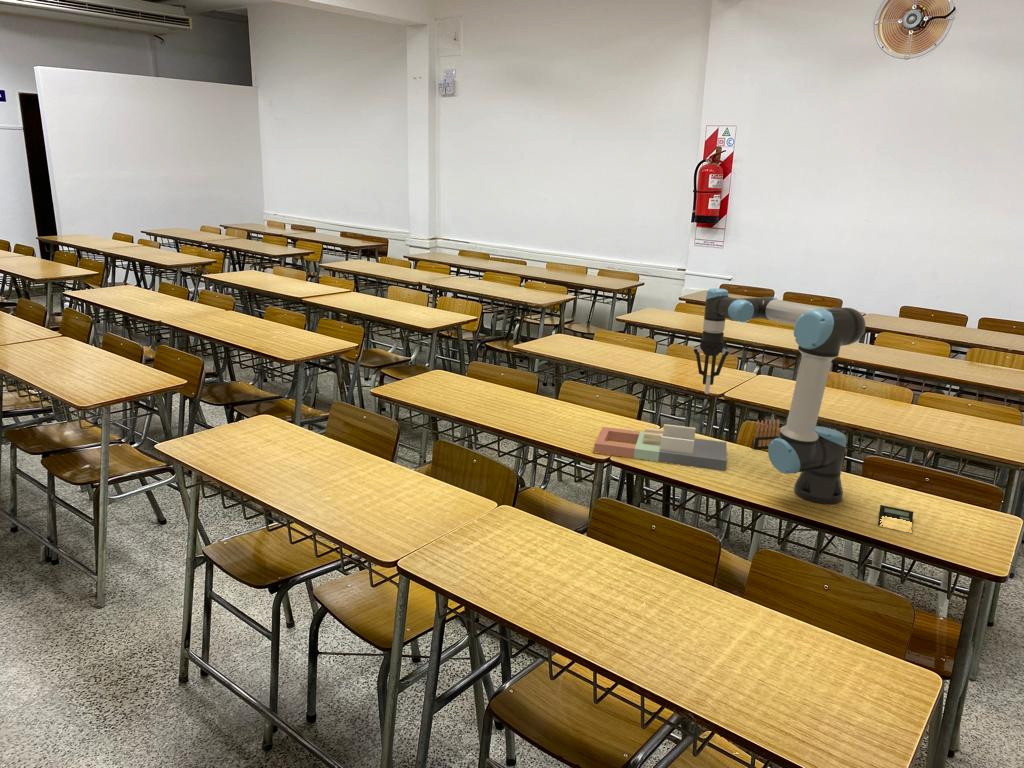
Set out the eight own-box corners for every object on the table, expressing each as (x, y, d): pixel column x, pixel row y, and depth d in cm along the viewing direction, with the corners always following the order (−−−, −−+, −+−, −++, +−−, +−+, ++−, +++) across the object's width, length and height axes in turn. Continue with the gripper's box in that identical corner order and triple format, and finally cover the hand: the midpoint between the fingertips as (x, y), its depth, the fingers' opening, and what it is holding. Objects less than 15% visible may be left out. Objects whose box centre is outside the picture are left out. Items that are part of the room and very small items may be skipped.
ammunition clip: (775, 446, 285) (779, 418, 281) (777, 448, 283) (782, 419, 279) (750, 448, 282) (754, 419, 279) (753, 449, 280) (757, 420, 277)
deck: (725, 471, 258) (728, 447, 256) (593, 453, 270) (595, 430, 268) (725, 451, 277) (727, 429, 274) (602, 436, 289) (603, 414, 286)
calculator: (877, 527, 221) (879, 518, 220) (878, 512, 231) (880, 504, 230) (912, 535, 216) (913, 526, 216) (911, 519, 226) (913, 511, 226)
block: (661, 445, 269) (662, 435, 268) (643, 443, 271) (644, 433, 270) (663, 439, 276) (664, 430, 275) (645, 437, 278) (645, 427, 276)
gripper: (731, 330, 265) (724, 391, 271) (695, 327, 267) (689, 388, 274) (732, 334, 257) (725, 397, 264) (695, 331, 260) (689, 393, 267)
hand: (706, 392), depth 269 cm, fingers closed
